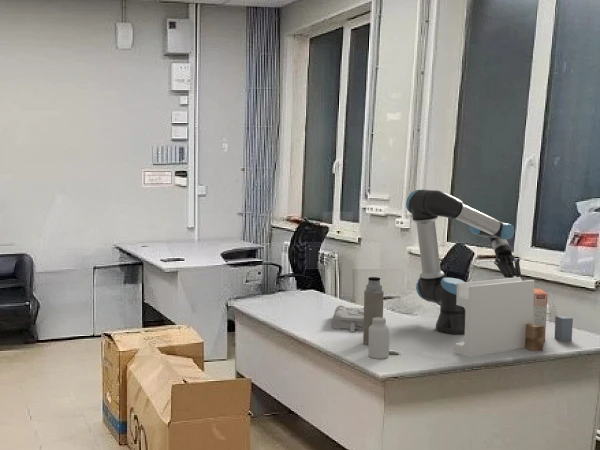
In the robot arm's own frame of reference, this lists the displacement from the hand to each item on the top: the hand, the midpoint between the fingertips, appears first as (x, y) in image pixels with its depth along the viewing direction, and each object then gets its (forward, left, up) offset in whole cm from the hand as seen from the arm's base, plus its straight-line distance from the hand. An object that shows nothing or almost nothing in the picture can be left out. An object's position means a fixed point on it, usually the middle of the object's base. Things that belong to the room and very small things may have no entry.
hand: (518, 288), depth 286 cm
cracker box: (-1, -18, -19) cm, 26 cm away
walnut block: (-12, -35, -18) cm, 41 cm away
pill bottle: (-79, -37, -19) cm, 89 cm away
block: (-28, -33, -19) cm, 47 cm away
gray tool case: (-76, +14, -19) cm, 79 cm away
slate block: (+9, -23, -18) cm, 31 cm away
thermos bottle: (-76, -19, -19) cm, 80 cm away
